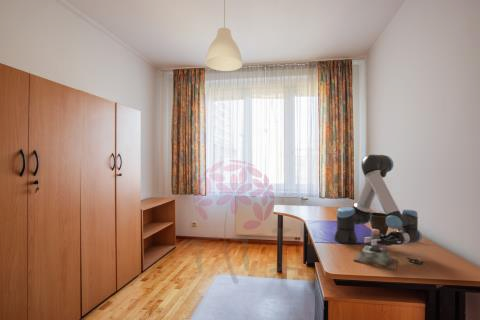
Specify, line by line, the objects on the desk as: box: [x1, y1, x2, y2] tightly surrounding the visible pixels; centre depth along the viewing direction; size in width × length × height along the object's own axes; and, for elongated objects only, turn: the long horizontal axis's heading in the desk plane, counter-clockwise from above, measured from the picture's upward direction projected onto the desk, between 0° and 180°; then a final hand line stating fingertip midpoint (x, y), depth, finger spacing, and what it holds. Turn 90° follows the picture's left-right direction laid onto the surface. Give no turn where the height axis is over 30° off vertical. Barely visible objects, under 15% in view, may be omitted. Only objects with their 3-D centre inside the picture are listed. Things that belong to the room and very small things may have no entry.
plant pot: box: [369, 212, 389, 235], centre depth 189 cm, size 15×15×16 cm
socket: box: [352, 245, 398, 271], centre depth 138 cm, size 20×16×6 cm
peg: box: [370, 228, 381, 253], centre depth 138 cm, size 4×4×15 cm
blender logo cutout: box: [406, 257, 424, 266], centre depth 139 cm, size 9×8×1 cm
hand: (368, 241), depth 137 cm, fingers closed on peg, 4 cm apart
